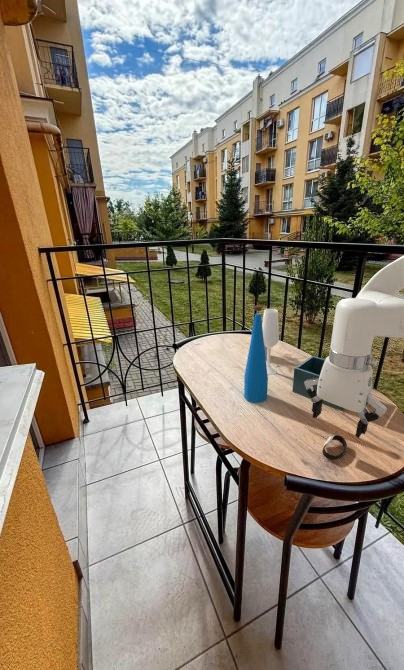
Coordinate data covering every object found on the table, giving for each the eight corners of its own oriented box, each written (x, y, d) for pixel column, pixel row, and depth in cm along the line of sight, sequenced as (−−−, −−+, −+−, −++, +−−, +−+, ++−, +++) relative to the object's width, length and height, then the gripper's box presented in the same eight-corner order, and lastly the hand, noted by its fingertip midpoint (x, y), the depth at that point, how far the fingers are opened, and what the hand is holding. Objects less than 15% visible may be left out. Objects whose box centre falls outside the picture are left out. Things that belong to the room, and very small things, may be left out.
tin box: (292, 391, 93) (294, 368, 90) (309, 377, 102) (312, 355, 98) (340, 410, 83) (344, 384, 80) (355, 393, 91) (360, 369, 88)
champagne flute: (277, 375, 104) (281, 313, 96) (259, 374, 105) (261, 312, 97) (276, 367, 110) (280, 308, 102) (259, 366, 112) (261, 307, 103)
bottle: (241, 400, 90) (242, 308, 79) (247, 388, 96) (250, 302, 85) (263, 405, 87) (268, 310, 76) (269, 393, 93) (274, 304, 82)
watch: (331, 439, 72) (333, 427, 71) (350, 449, 68) (353, 437, 67) (316, 454, 67) (318, 442, 66) (336, 465, 64) (338, 453, 63)
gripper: (401, 364, 56) (384, 434, 62) (316, 342, 67) (308, 403, 73) (390, 377, 51) (373, 452, 57) (301, 351, 62) (294, 415, 68)
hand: (336, 424), depth 65 cm, fingers open, 9 cm apart
